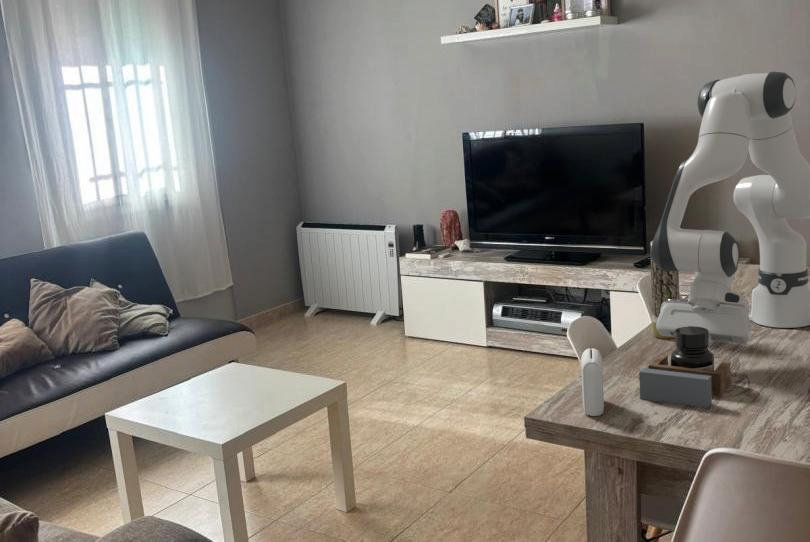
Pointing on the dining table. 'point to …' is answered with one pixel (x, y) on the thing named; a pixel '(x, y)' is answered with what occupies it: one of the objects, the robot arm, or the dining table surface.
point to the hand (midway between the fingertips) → (696, 354)
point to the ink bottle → (692, 349)
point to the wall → (675, 387)
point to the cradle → (700, 373)
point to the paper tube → (662, 292)
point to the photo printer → (592, 382)
